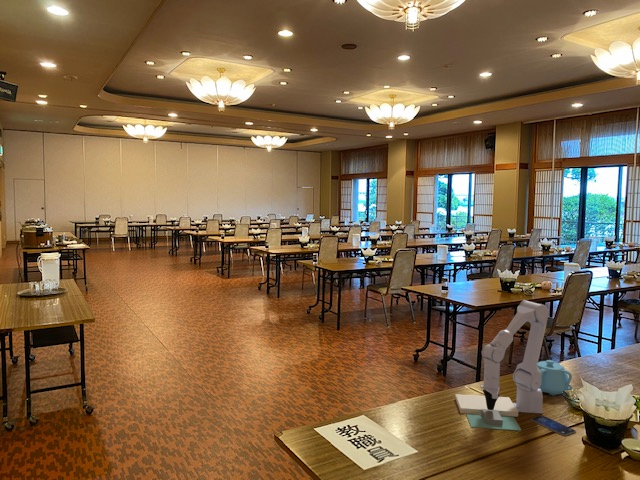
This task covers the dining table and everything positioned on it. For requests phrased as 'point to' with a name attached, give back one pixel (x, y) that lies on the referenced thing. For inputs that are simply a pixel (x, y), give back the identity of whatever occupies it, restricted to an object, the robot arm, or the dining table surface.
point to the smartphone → (553, 425)
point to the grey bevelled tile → (492, 417)
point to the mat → (479, 422)
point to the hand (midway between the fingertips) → (490, 409)
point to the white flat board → (477, 403)
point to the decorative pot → (554, 377)
